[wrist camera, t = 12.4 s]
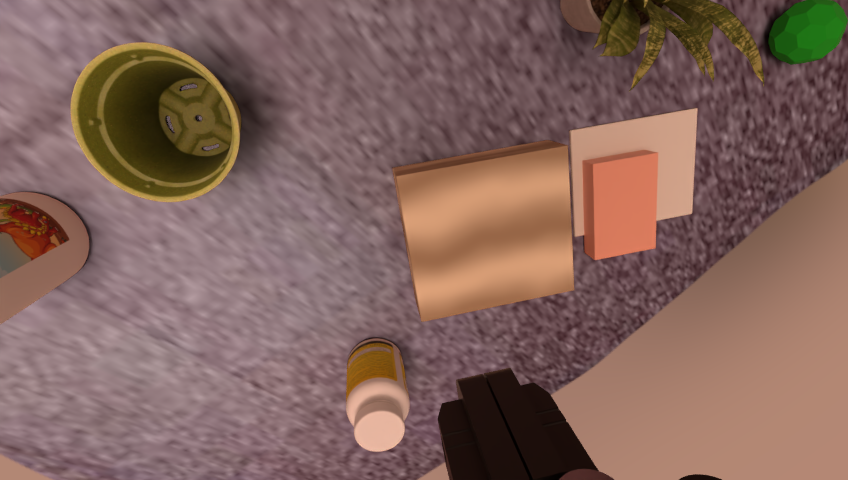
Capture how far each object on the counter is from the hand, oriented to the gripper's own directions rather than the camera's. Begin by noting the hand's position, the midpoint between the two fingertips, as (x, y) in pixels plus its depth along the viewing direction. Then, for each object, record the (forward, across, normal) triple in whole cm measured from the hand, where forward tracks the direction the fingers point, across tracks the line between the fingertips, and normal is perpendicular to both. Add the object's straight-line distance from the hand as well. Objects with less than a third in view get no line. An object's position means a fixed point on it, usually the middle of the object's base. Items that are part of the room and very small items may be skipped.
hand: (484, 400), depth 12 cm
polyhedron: (+29, -36, -7) cm, 47 cm away
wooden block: (+29, -7, +5) cm, 30 cm away
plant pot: (+29, +14, -8) cm, 33 cm away
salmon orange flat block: (+27, -20, +5) cm, 34 cm away
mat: (+29, -22, +3) cm, 37 cm away
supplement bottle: (+29, +5, +17) cm, 34 cm away
